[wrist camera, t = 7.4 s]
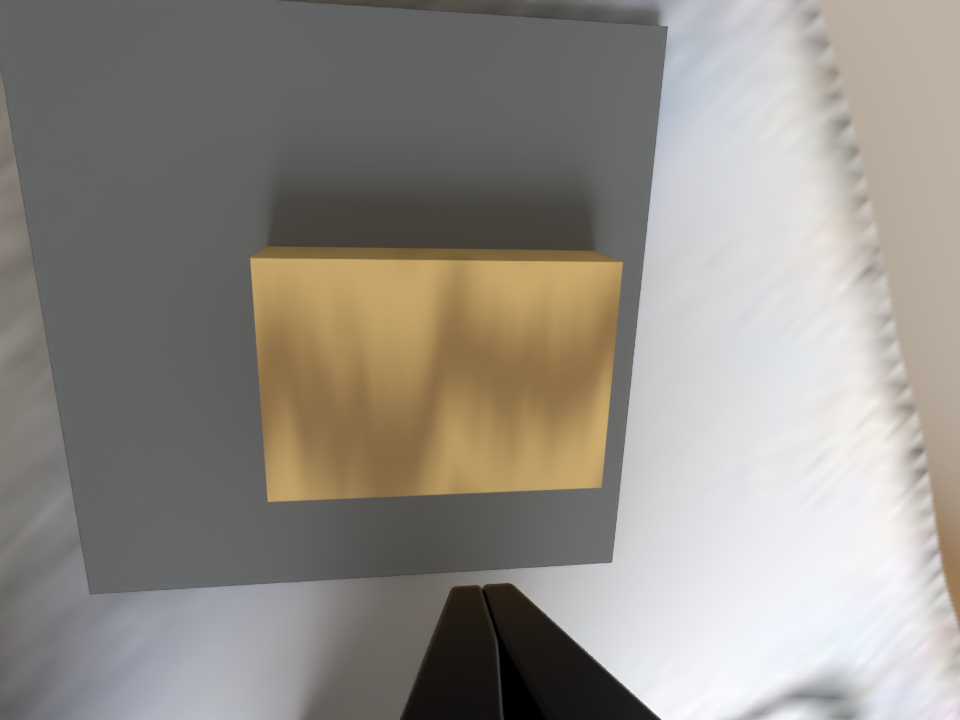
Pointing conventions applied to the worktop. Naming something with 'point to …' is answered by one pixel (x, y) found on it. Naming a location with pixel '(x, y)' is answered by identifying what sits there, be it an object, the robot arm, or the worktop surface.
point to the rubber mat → (300, 223)
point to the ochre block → (433, 369)
